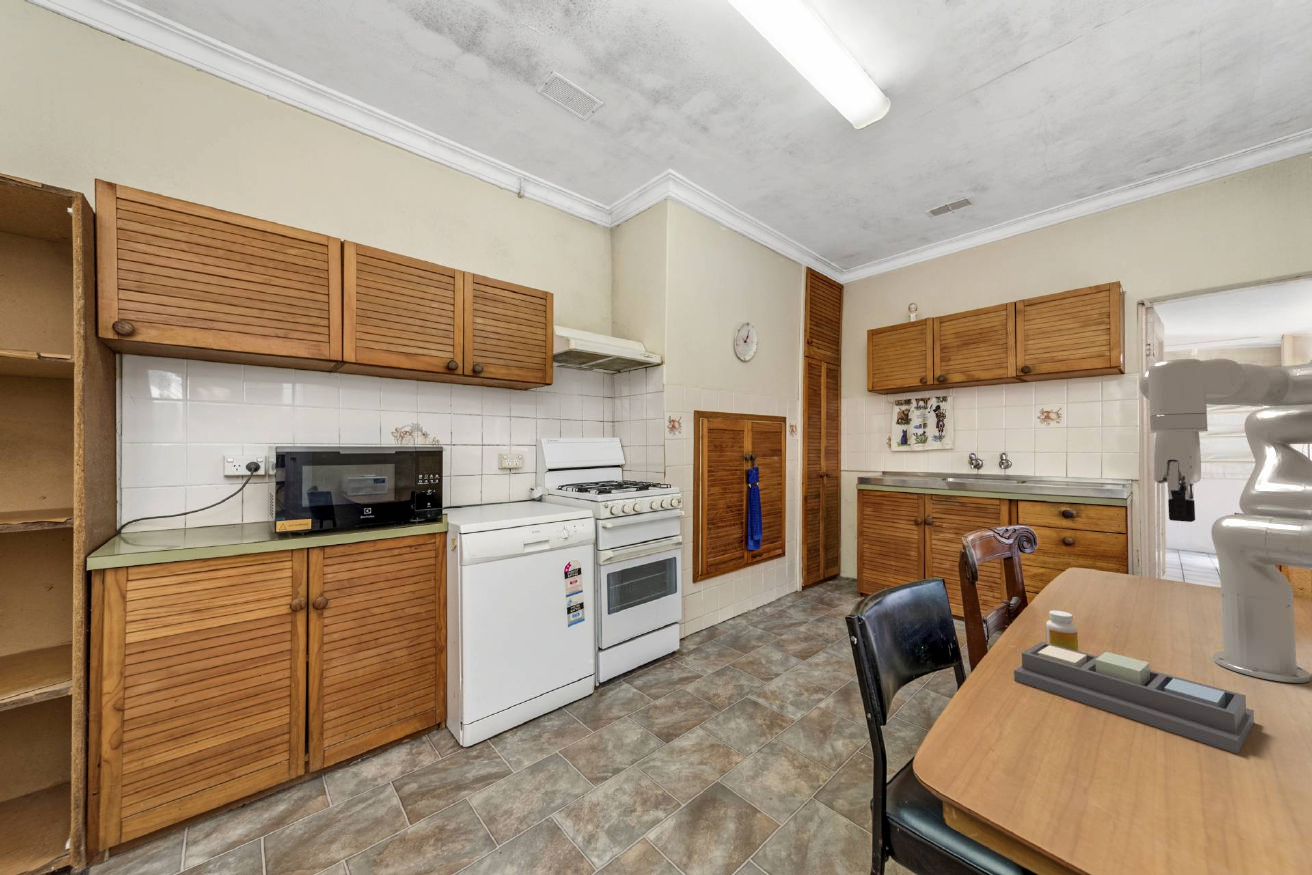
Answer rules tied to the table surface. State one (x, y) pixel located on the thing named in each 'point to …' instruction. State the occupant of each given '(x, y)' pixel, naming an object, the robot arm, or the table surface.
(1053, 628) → the supplement bottle
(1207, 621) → the table surface
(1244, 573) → the robot arm
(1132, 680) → the sage key
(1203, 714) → the grey compartment tray
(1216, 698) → the blue key
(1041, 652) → the cream key
